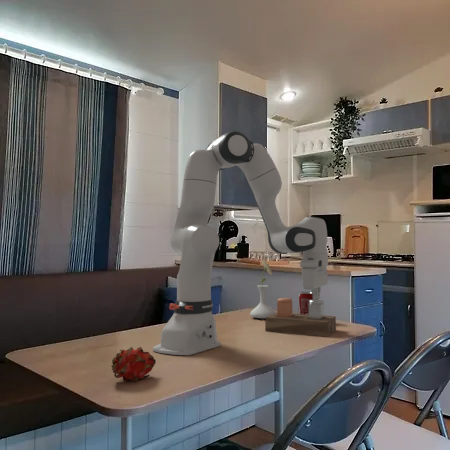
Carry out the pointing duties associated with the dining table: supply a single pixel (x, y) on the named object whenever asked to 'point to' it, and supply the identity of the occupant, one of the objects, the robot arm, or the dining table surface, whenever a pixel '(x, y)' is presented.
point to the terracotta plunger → (284, 307)
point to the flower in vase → (263, 298)
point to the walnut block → (301, 325)
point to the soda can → (304, 302)
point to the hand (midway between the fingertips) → (316, 299)
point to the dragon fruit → (133, 364)
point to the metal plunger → (316, 309)
